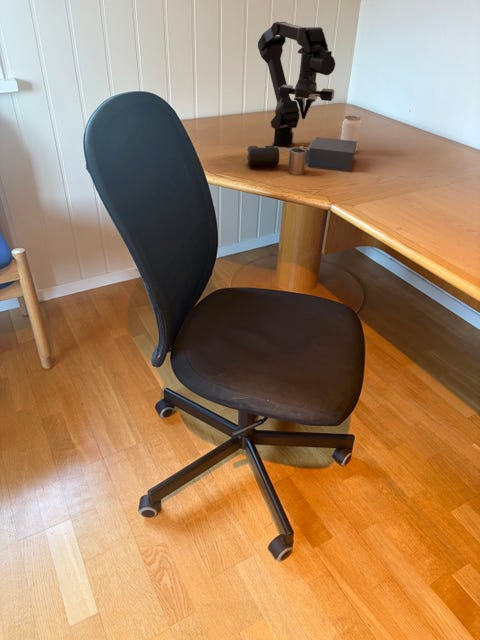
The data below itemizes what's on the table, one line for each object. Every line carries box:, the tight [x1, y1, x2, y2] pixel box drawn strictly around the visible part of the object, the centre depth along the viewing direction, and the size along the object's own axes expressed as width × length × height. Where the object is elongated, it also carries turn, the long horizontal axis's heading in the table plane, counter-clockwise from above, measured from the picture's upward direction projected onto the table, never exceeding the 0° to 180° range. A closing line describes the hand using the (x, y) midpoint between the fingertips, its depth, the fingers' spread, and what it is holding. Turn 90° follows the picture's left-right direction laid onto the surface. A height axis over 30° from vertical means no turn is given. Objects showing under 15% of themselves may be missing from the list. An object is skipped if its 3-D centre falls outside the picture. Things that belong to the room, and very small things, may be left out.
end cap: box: [246, 145, 280, 169], centre depth 165 cm, size 10×7×7 cm
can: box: [340, 115, 362, 153], centre depth 181 cm, size 6×6×12 cm
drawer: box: [299, 139, 315, 165], centre depth 171 cm, size 17×13×5 cm
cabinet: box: [307, 136, 357, 173], centre depth 171 cm, size 14×14×6 cm
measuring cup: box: [280, 147, 307, 176], centre depth 162 cm, size 8×5×7 cm, turn 74°
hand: (303, 118), depth 174 cm, fingers closed
